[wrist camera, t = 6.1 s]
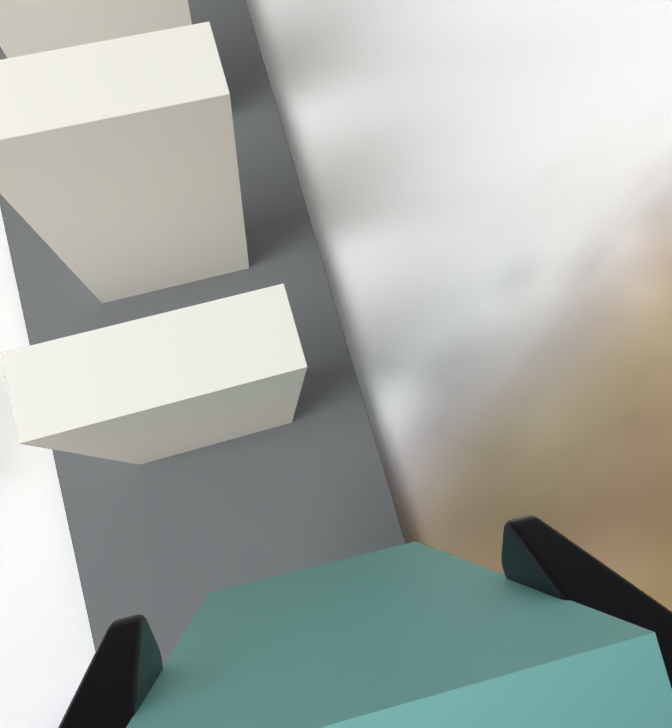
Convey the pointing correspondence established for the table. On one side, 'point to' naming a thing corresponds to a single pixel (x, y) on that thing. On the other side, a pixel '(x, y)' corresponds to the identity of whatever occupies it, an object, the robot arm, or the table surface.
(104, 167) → the domino
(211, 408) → the domino
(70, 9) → the domino
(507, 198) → the table surface
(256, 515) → the mat
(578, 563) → the robot arm
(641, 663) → the teal domino
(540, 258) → the table surface
